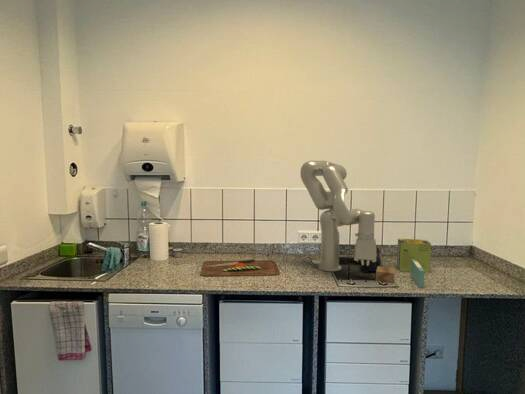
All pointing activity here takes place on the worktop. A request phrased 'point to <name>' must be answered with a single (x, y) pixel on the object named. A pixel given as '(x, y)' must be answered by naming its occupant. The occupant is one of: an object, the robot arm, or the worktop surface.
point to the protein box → (413, 254)
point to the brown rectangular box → (385, 274)
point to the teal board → (417, 273)
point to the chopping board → (239, 268)
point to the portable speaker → (374, 265)
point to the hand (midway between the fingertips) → (364, 272)
